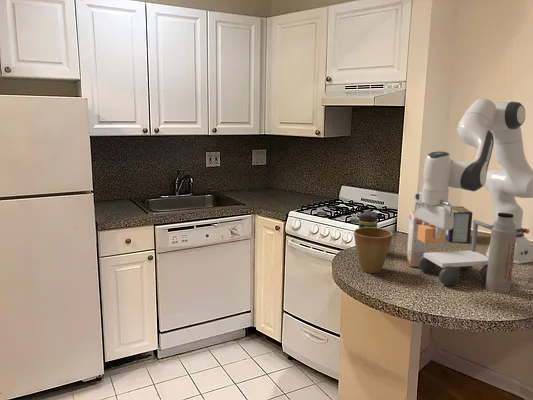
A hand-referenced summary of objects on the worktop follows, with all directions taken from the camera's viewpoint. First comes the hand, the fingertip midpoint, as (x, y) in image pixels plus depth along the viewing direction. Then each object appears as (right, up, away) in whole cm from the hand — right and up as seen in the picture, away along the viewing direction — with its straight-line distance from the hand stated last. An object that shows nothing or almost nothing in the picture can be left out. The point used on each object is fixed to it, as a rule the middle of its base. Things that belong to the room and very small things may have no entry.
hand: (431, 236), depth 163 cm
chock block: (0, -2, 0) cm, 2 cm away
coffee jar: (-13, -11, +46) cm, 49 cm away
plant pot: (-17, -16, +21) cm, 31 cm away
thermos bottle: (+25, -20, +3) cm, 32 cm away
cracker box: (+4, -14, +31) cm, 34 cm away
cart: (+15, -17, +14) cm, 27 cm away
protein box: (+37, -7, +70) cm, 79 cm away
